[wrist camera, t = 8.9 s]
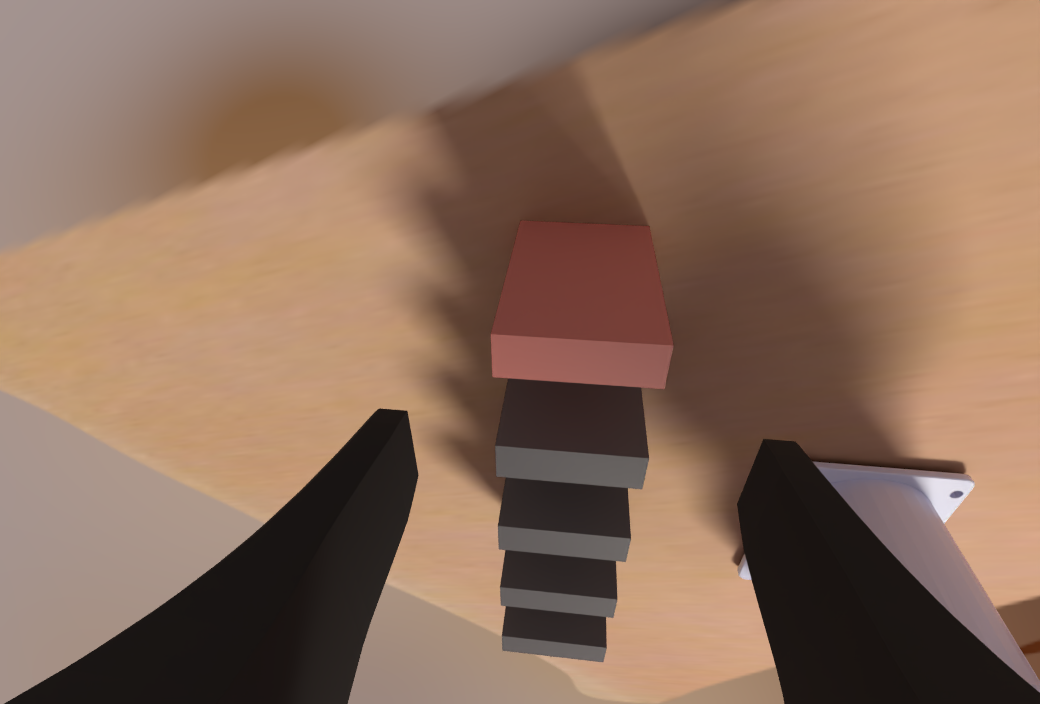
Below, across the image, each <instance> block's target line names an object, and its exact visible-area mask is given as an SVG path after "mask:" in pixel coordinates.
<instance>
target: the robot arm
mask: <svg viewBox="0 0 1040 704" xmlns="http://www.w3.org/2000/svg"><path fill="white" fill-rule="evenodd" d="M417 479H418V470H417V464H416V458H415V452H414V447H413V441H412V435H411V429H410V423H409V417H408V412H407V411H403V410H391V409H378V410H377V411H376V412H375V413H374V414H373V415H372V416H371V417H370V418H369V419H368V420H367V421H366V422H365V423H364V425H363V426H362V427H361V428H360V429H359V430H358V431H357V432H356V433H355V434H354V436H353V437H352V438H351V439H350V440H349V441H348V442H347V443H346V444H345V445H344V446H343V447H342V449H341V450H340V451H339V452H338V453H337V454H336V455H335V456H334V457H333V458H332V459H331V460H330V461H329V462H328V463H327V464H326V465H325V466H324V467H323V468H322V469H321V470H320V471H319V472H318V473H317V474H316V476H315V477H314V478H313V479H312V480H311V481H310V482H309V483H308V484H307V485H306V486H305V487H304V488H303V489H302V490H301V491H300V492H299V493H297V494H296V495H295V496H294V497H293V498H292V499H291V500H290V501H289V502H288V503H287V504H286V505H285V506H284V507H282V508H281V509H280V510H279V511H278V512H277V513H276V514H275V515H274V516H273V517H272V518H271V519H270V520H269V521H267V522H266V523H265V524H264V525H263V526H262V527H261V528H260V529H259V530H257V531H256V532H255V533H254V534H253V535H252V536H250V537H249V538H248V539H247V540H246V541H245V542H243V543H242V544H241V545H240V546H239V547H237V548H236V549H235V550H234V551H233V552H231V553H230V554H229V555H227V556H226V557H225V558H224V559H223V560H221V561H220V562H219V563H218V564H216V565H215V566H214V567H213V568H211V569H210V570H209V571H207V572H206V573H205V574H203V575H202V576H201V577H199V578H198V579H197V580H195V581H194V582H193V583H191V584H190V585H189V586H187V587H186V588H185V589H184V590H182V591H181V592H180V593H178V594H177V595H175V596H174V597H173V598H171V599H170V600H168V601H167V602H166V603H164V604H163V605H161V606H160V607H159V608H157V609H156V610H154V611H153V612H151V613H150V614H148V615H147V616H145V617H144V618H142V619H141V620H139V621H138V622H136V623H135V624H133V625H132V626H130V627H129V628H127V629H126V630H124V631H123V632H121V633H120V634H118V635H117V636H115V637H113V638H112V639H110V640H109V641H107V642H106V643H104V644H103V645H101V646H100V647H98V648H97V649H95V650H94V651H92V652H91V653H89V654H87V655H86V656H84V657H83V658H81V659H79V660H78V661H76V662H75V663H73V664H71V665H70V666H68V667H67V668H65V669H63V670H61V671H60V672H58V673H56V674H54V675H53V676H51V677H49V678H48V679H46V680H44V681H43V682H41V683H39V684H37V685H36V686H34V687H32V688H31V689H29V690H27V691H25V692H23V693H22V694H20V695H18V696H17V697H15V698H13V699H12V700H10V701H8V702H6V703H5V704H348V700H349V696H350V692H351V688H352V684H353V681H354V677H355V673H356V669H357V666H358V662H359V658H360V654H361V651H362V647H363V644H364V641H365V638H366V634H367V631H368V628H369V625H370V622H371V619H372V617H373V614H374V611H375V609H376V606H377V603H378V600H379V598H380V595H381V592H382V589H383V587H384V584H385V582H386V579H387V576H388V573H389V571H390V568H391V565H392V563H393V560H394V557H395V554H396V552H397V549H398V546H399V543H400V541H401V538H402V535H403V532H404V530H405V527H406V524H407V521H408V517H409V513H410V509H411V505H412V501H413V497H414V493H415V488H416V484H417ZM974 485H975V484H974V481H973V480H972V478H971V477H970V476H969V475H966V474H960V473H947V472H935V471H923V470H911V469H898V468H886V467H874V466H861V465H849V464H837V463H824V462H812V461H811V459H810V458H809V457H808V456H807V455H806V453H805V452H804V451H803V450H802V449H801V447H800V446H799V445H798V444H797V443H796V442H794V441H781V440H768V439H763V441H762V444H761V446H760V449H759V451H758V454H757V456H756V459H755V461H754V464H753V466H752V469H751V471H750V474H749V476H748V479H747V481H746V484H745V486H744V489H743V491H742V493H741V496H740V498H739V501H738V503H737V506H738V513H739V520H740V528H741V534H742V541H743V547H744V556H743V558H742V560H741V562H740V564H739V567H738V574H739V576H740V577H741V578H743V579H747V580H752V583H753V586H754V590H755V594H756V597H757V601H758V604H759V608H760V611H761V615H762V618H763V622H764V626H765V629H766V633H767V636H768V640H769V643H770V647H771V650H772V654H773V658H774V661H775V665H776V668H777V672H778V677H779V681H780V685H781V689H782V693H783V698H784V704H1040V681H1039V679H1038V677H1037V676H1036V674H1035V673H1034V671H1033V669H1032V668H1031V666H1030V664H1029V663H1028V661H1027V659H1026V658H1025V656H1024V654H1023V653H1022V651H1021V649H1020V648H1019V646H1018V645H1017V643H1016V641H1015V640H1014V638H1013V636H1012V635H1011V633H1010V632H1009V630H1008V628H1007V627H1006V625H1005V623H1004V622H1003V620H1002V619H1001V617H1000V615H999V613H998V612H997V610H996V608H995V607H994V605H993V603H992V602H991V600H990V598H989V597H988V595H987V594H986V592H985V590H984V589H983V587H982V585H981V584H980V582H979V580H978V579H977V577H976V575H975V574H974V572H973V571H972V569H971V567H970V566H969V564H968V562H967V561H966V559H965V557H964V556H963V554H962V552H961V551H960V549H959V548H958V546H957V544H956V543H955V541H954V539H953V538H952V536H951V534H950V533H949V531H948V529H947V528H946V526H945V525H944V523H945V522H946V521H947V520H948V518H949V517H950V516H951V515H952V513H953V512H954V511H955V510H956V509H957V507H958V506H959V505H960V504H961V502H962V501H963V500H964V499H965V497H966V496H967V495H968V494H969V493H970V491H971V490H972V489H973V487H974Z"/></svg>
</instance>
